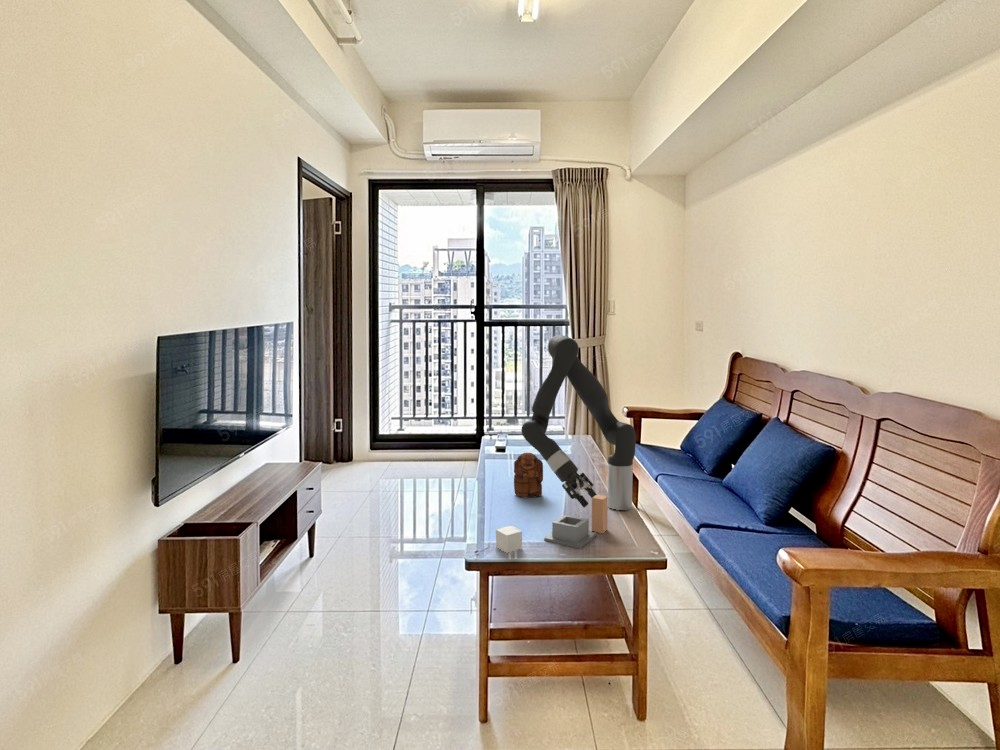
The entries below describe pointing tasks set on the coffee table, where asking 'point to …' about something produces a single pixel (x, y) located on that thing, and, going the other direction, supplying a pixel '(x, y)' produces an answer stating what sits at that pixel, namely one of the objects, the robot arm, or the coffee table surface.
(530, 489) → the wooden figurine
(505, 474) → the coffee table surface
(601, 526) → the orange rectangular block
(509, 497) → the coffee table surface
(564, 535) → the well
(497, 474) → the coffee table surface
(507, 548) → the white cube
